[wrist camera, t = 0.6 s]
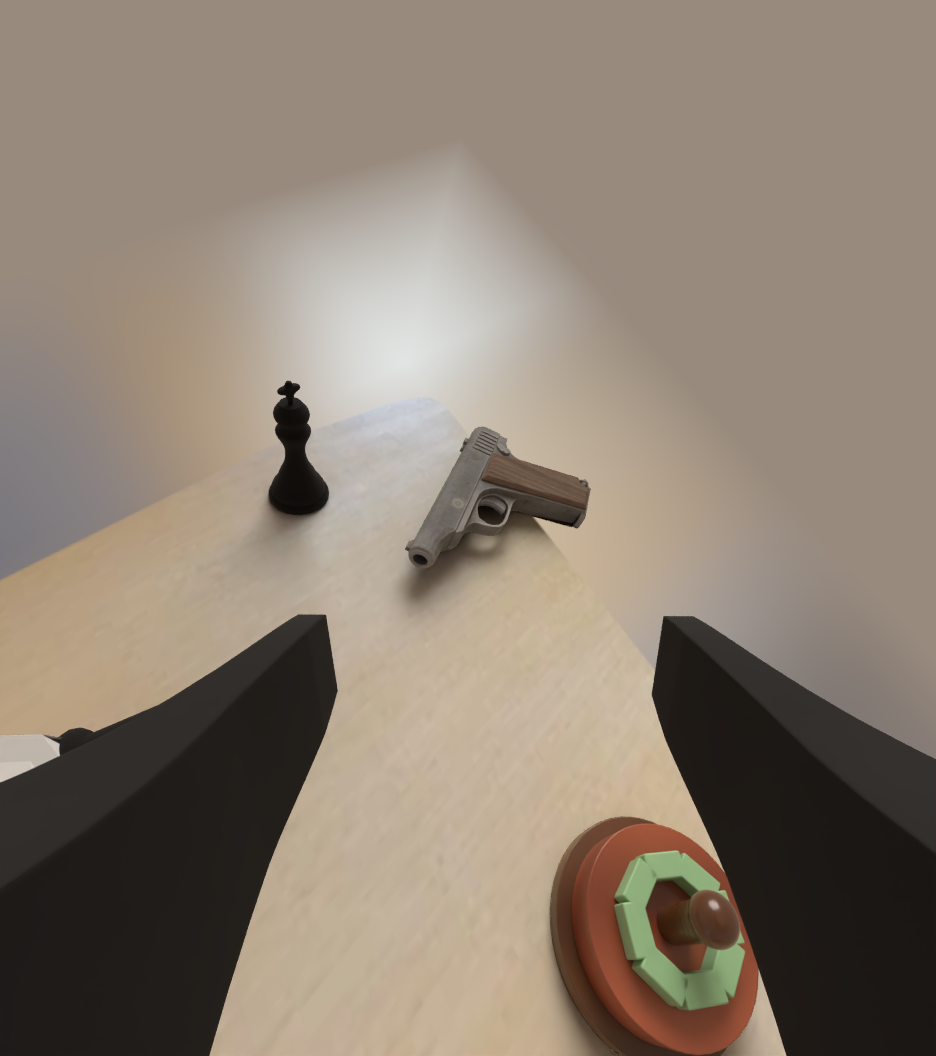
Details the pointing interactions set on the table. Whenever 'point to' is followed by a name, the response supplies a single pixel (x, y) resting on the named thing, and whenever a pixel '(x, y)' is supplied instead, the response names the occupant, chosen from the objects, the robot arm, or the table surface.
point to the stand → (679, 934)
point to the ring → (649, 963)
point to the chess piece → (295, 459)
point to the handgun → (495, 496)
